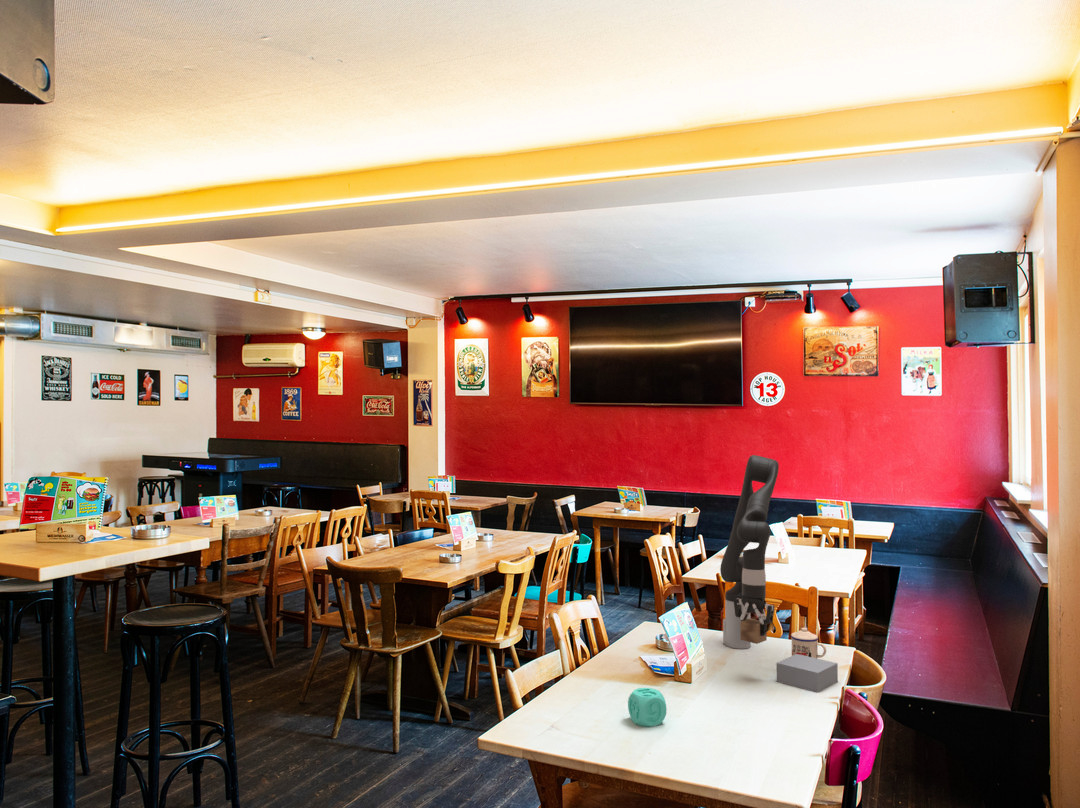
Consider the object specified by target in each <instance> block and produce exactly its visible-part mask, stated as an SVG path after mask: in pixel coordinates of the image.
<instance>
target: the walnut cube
mask: <svg viewBox="0 0 1080 808" xmlns="http://www.w3.org/2000/svg"><path fill="white" fill-rule="evenodd" d="M760 624H761V623H760V620H759V619H756V618H751V617H750V619H747V620H744V621H741V640H743V641H747V642H751V644H756V645H758V644H760V643H763V642H765V641H767V633H768V632H767V633H766V634H765V635H764V636H760Z"/></svg>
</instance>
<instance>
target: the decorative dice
mask: <svg viewBox="0 0 1080 808" xmlns="http://www.w3.org/2000/svg"><path fill="white" fill-rule="evenodd" d="M627 708H628V709H627V710H628V714H629V717H630V719H631V720H632V722H633V723H634V724H636V725H637V726H639V727H640V726H641V727H645V728H647V727H649V728H653V727H657V726H660V725H661V724H662V723H663V721H664V720H665V719H666V715H667V710H668V708H667V703H666V699H665V697H664V695H663V693H662V692H661V691H660V690H659V689H656V688H651V687H639V688H636V689H634V690H633V691H632V692H631V693H630V694H629V697H628V700H627Z"/></svg>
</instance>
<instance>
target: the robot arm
mask: <svg viewBox="0 0 1080 808" xmlns="http://www.w3.org/2000/svg"><path fill="white" fill-rule="evenodd" d="M779 469H780V467H779V462H778V461H777V460H775V459H773V458H769V457H765V456H764V457H763V456H761V455H757V454H756V455H755V454H752V455H750V456H749V457H748V460H747V463H746V466H745V472H744V477H743V484H742V487H741V493H740V498H739V501H738V505H737V507H736V510H735V515H734V519H733V524H732V529H731V532H730V536H729V540H728V543H727V546H726V548H725V551H724V555H723V557H722V559H721V562H720V563H721V564H720V569H719V570H720V577H721V579H722V580H723V582H726V583H735V584H734V585H733V587H731V588H729V589H727V590H726V591H725V594H724V597H725V598H724V600H725V602H724V603H725V605H724V608H725V613H724V614H725V618H723V620H722V628H723V629H722V630H723V631H722V637H723V638H722V639H723V640H722V641H723V642H722V644H723V645H725V646H726V647H728V648H731V649H738V650H739V649H741V650H742V649H748V648H751V644H752V643H751V642H747V641H743V640H741V621H744V620H747V619H750V618H751V614H753V615H756V617H757V618H758V620H760V623H761V624H760V636H764V635H765V634H766V633H768V632H767V630H768V627H767V626H768V625H769V624H772V623H773V622H774V613H775V605H774V604H769V603H767V601H766V597H767V596H766V595H767V593H766V591H767V590H766V587H767V585H766V583H767V580H766V579H767V577H766V551H767V547H768V543H769V539H770V538H771V537H770V536H771V527H770V525H769V523H767V522H766V521H767V519H768V512H769V505H770V502H771V499H772V494H773V493H774V490H775V487H776V482H777V479H778V474H779ZM753 482H758V483H762V484H764V485H763V486H762V487H760V488H759V489H757V490H756V491H754V488H753ZM750 543H754V544H758V546H757V547H755V548H750V549H746V548H747V546H748V545H749V544H750ZM742 552H743V553H742ZM741 555H742V556H741ZM764 609H765V610H766V612H765V610H764Z"/></svg>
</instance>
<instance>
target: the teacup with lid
mask: <svg viewBox="0 0 1080 808" xmlns="http://www.w3.org/2000/svg"><path fill="white" fill-rule="evenodd" d="M800 629H801V630H798V631H795V632H792V633H791V634H790V638H791V656H793V655H795V654H799V655H804V656H808V657H812V658H817V659H821V658H823V657H825V656H826V653H827V647H826V646H825V644H823V643H821V642H818V640H819V637H818V635H816V634H815V633H812V632H810V631H809V630H808V628H807V627H801V628H800ZM818 646H820V647H822V649H823V653H822V654H821V655H819V654H818Z"/></svg>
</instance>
